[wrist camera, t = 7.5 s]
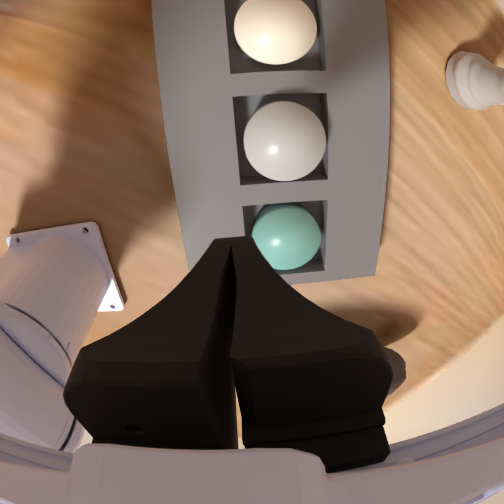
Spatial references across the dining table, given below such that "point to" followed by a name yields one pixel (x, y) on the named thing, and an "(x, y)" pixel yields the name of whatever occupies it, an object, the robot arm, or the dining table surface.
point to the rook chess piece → (474, 81)
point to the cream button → (275, 30)
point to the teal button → (286, 235)
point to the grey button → (284, 140)
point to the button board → (265, 91)
